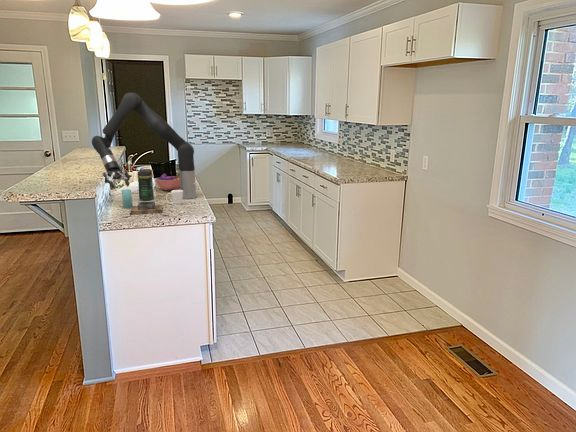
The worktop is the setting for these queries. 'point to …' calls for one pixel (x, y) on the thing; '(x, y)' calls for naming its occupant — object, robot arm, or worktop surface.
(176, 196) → the cup
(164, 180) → the cell model
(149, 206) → the walnut base
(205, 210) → the worktop surface
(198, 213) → the worktop surface
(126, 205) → the teal peg
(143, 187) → the coffee jar
